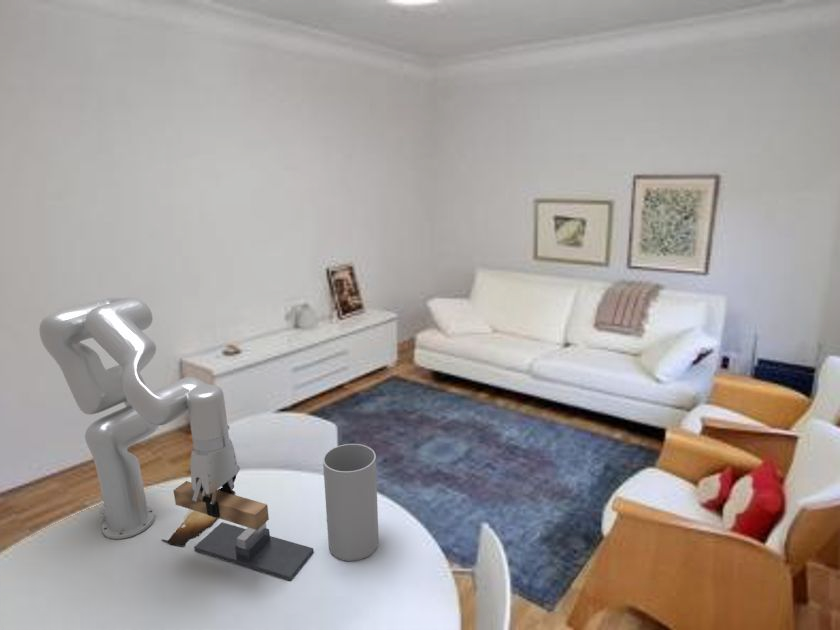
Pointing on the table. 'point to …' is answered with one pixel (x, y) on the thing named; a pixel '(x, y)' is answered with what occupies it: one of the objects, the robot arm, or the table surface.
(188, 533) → the parchment
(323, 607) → the table surface
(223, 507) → the walnut bar
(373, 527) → the cylinder vase
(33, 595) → the table surface
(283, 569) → the stand
